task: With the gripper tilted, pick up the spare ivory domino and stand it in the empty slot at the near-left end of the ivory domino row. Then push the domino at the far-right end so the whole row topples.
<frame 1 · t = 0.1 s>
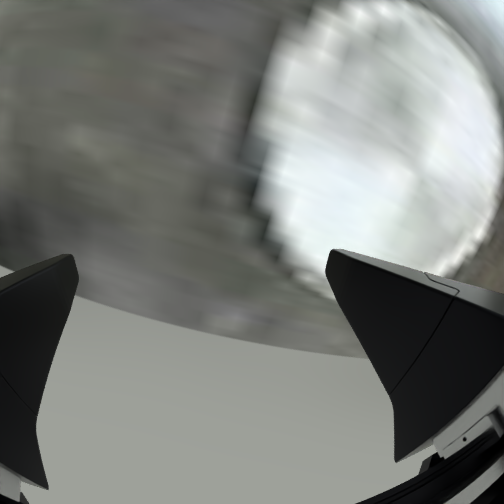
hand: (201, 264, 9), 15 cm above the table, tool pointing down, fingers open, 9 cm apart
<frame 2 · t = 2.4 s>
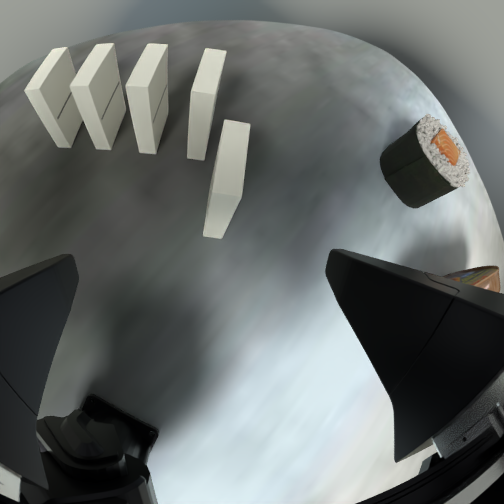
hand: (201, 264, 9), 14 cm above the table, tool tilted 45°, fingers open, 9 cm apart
domino 2: (111, 128, 24), on the table
sushi: (405, 175, 31), on the table
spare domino: (216, 209, 24), on the table
domino 3: (154, 131, 25), on the table
domino 4: (200, 137, 25), on the table
domino 1: (73, 127, 23), on the table
tin: (424, 298, 28), on the table
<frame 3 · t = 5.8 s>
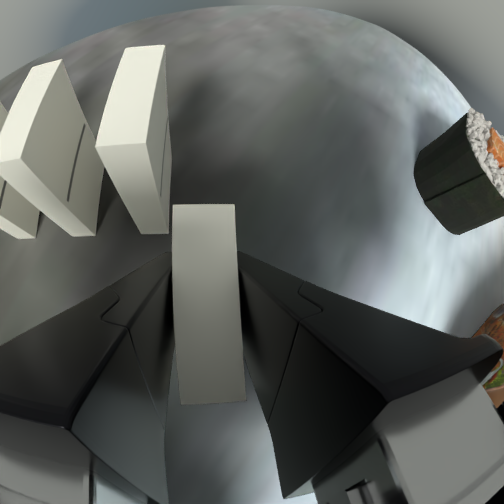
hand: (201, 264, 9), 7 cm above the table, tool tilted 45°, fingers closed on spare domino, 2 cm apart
domino 2: (32, 202, 15), on the table
sushi: (444, 190, 22), on the table
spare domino: (200, 312, 15), on the table, touching gripper
domino 3: (88, 197, 16), on the table
domino 4: (156, 194, 16), on the table
tin: (477, 345, 19), on the table
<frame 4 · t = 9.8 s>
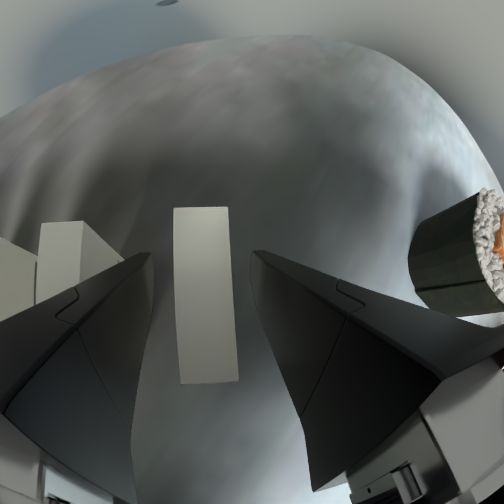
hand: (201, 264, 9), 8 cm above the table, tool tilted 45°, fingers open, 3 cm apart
sushi: (440, 267, 21), on the table
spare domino: (200, 307, 16), on the table
domino 3: (60, 311, 15), on the table
domino 4: (125, 313, 15), on the table
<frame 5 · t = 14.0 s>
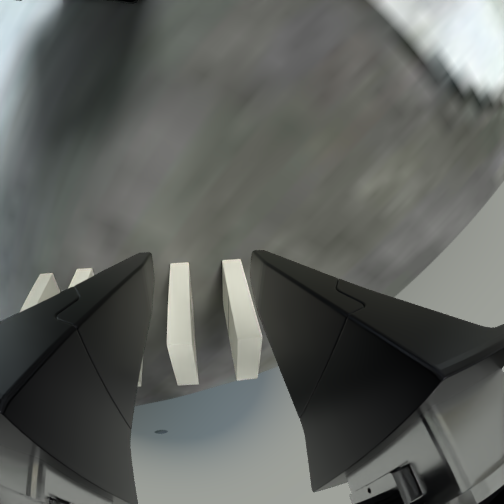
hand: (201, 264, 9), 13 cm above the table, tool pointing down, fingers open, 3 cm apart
domino 2: (182, 285, 26), on the table
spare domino: (54, 293, 23), on the table
domino 1: (231, 282, 27), on the table
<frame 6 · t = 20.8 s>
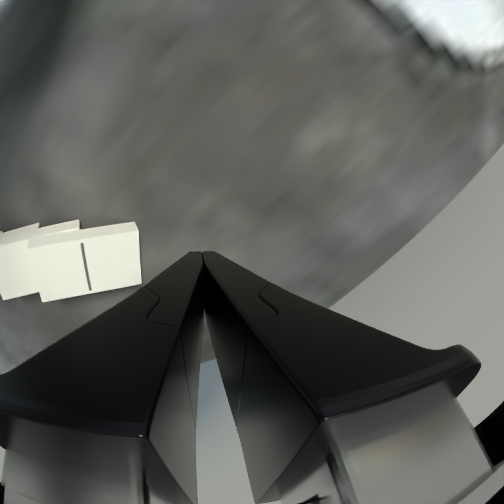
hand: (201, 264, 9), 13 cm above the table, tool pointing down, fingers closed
domino 2: (84, 250, 21), point 1 cm above the table, tilted 69°, touching domino 1, domino 3
domino 1: (137, 253, 22), point 1 cm above the table, tilted 69°, touching domino 2
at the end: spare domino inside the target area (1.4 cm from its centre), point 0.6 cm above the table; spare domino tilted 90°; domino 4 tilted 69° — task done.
